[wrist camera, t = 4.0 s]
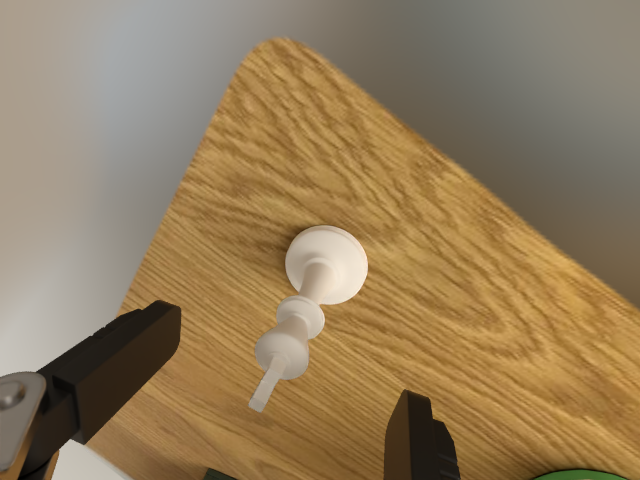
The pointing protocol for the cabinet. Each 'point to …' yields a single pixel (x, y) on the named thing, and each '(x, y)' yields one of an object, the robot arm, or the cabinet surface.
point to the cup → (579, 475)
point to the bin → (216, 476)
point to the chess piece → (308, 302)
